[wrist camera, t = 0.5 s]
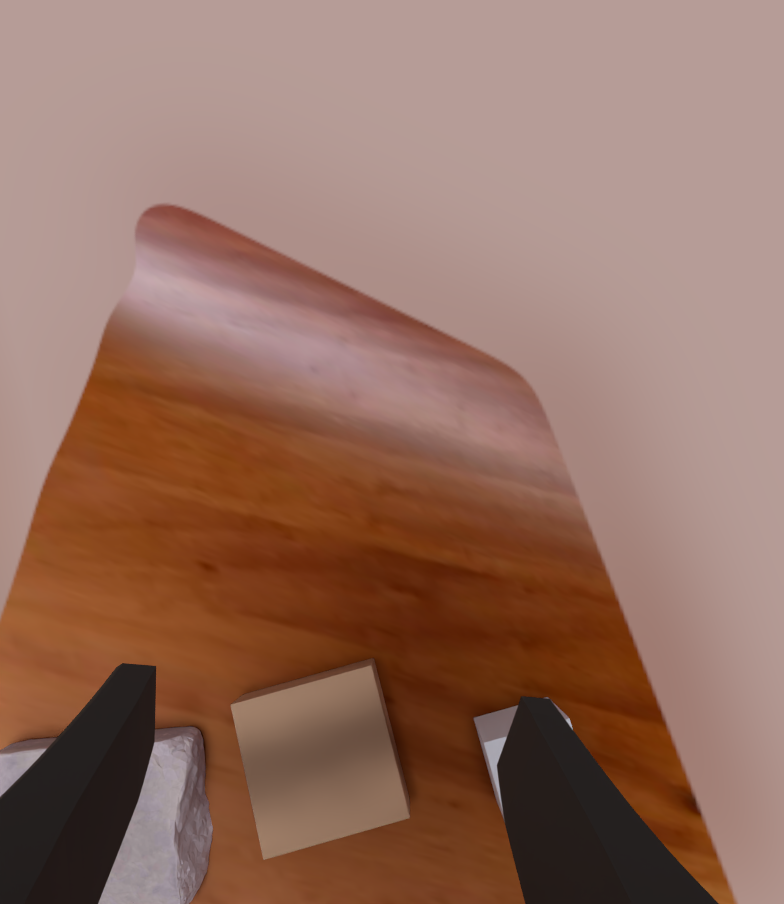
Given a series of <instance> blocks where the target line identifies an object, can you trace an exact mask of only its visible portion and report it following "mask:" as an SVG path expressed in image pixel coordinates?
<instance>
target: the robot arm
mask: <svg viewBox="0 0 784 904" xmlns="http://www.w3.org/2000/svg"><path fill="white" fill-rule="evenodd" d="M155 696H156V666H148V665H136V664H124V663H122V664H121V665H119V666H118V667H116V669H115V670H114V671H113V672H112V674H111V675H110V676H109V678H108V679H107V680H106V681H105V683H104V684H103V685H102V686H101V688H100V689H99V690H98V691H97V693H96V694H95V695H94V696H93V697H92V699H91V700H90V701H89V702H88V703H87V705H86V706H85V707H84V708H83V709H82V710H81V712H80V713H79V714H78V715H77V716H76V717H75V719H74V720H73V721H72V722H71V723H70V724H69V725H68V727H67V728H66V729H65V730H64V731H63V732H62V733H61V734H60V735H59V736H58V737H57V739H56V740H55V741H54V742H53V743H52V744H51V745H50V746H49V747H48V748H47V749H46V750H45V752H44V753H43V754H42V755H41V756H40V757H39V758H38V759H37V760H36V761H35V762H34V763H33V764H32V765H31V766H30V768H29V769H28V770H27V771H26V772H25V773H24V774H23V775H22V776H21V777H20V778H19V779H18V780H17V781H16V782H15V783H14V784H13V785H12V786H11V787H10V788H9V789H8V790H7V791H6V792H5V793H4V794H2V795H1V796H0V904H98V903H99V900H100V898H101V895H102V893H103V890H104V888H105V885H106V882H107V880H108V877H109V875H110V872H111V870H112V867H113V865H114V862H115V859H116V857H117V854H118V852H119V849H120V847H121V844H122V842H123V839H124V836H125V834H126V831H127V829H128V826H129V823H130V821H131V818H132V816H133V813H134V810H135V808H136V805H137V803H138V800H139V797H140V793H141V790H142V786H143V783H144V779H145V776H146V772H147V768H148V765H149V761H150V757H151V754H152V750H153V746H154V743H155ZM497 772H498V780H499V787H500V795H501V802H502V808H503V815H504V821H505V825H506V829H507V833H508V837H509V841H510V845H511V849H512V853H513V857H514V861H515V865H516V869H517V873H518V877H519V880H520V884H521V888H522V892H523V896H524V900H525V904H718V903H717V902H716V901H715V900H714V899H713V897H712V896H711V895H710V894H709V893H708V892H707V891H706V890H705V889H704V888H703V887H702V886H701V885H700V884H699V883H698V882H697V881H696V880H695V879H694V878H693V877H692V876H691V875H690V873H689V872H688V871H687V870H686V869H685V868H684V867H683V866H682V865H681V864H680V863H679V862H678V861H677V859H676V858H675V857H674V856H673V855H672V854H671V853H670V852H669V851H668V849H667V848H666V847H665V846H664V845H663V844H662V842H661V841H660V840H659V839H658V838H657V837H656V835H655V834H654V833H653V832H652V831H651V830H650V828H649V827H648V826H647V825H646V824H645V823H644V821H643V820H642V819H641V818H640V817H639V815H638V814H637V813H636V812H635V811H634V809H633V808H632V807H631V806H630V804H629V803H628V802H627V801H626V799H625V798H624V797H623V795H622V794H621V793H620V792H619V790H618V789H617V788H616V787H615V785H614V784H613V783H612V781H611V780H610V779H609V778H608V776H607V775H606V774H605V772H604V771H603V770H602V768H601V767H600V766H599V765H598V763H597V762H596V761H595V759H594V758H593V756H592V755H591V754H590V752H589V751H588V750H587V748H586V747H585V746H584V744H583V743H582V742H581V740H580V739H579V738H578V736H577V735H576V734H575V732H574V731H573V729H572V728H571V727H570V725H569V724H568V723H567V721H566V720H565V719H564V717H563V716H562V714H561V713H560V712H559V710H558V709H557V708H556V706H555V705H554V704H553V702H552V701H551V700H550V699H546V698H534V697H522V696H521V699H520V702H519V704H518V707H517V710H516V713H515V716H514V718H513V721H512V724H511V727H510V730H509V732H508V735H507V738H506V741H505V744H504V746H503V749H502V752H501V755H500V758H499V760H498V763H497Z"/></svg>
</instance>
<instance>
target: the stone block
mask: <svg viewBox="0 0 784 904" xmlns="http://www.w3.org/2000/svg"><path fill="white" fill-rule="evenodd" d="M56 739H57V738H42V739H30V740H26V741H22V742H17V743H13V744H10V745H9V746H7V747H5V748H4V749H2V750H0V796H1V795H2V794H4V793H5V792H6V791H7V790H8V789H9V788H10V787H11V786H12V785H13V784H14V783H15V782H16V781H17V780H18V779H19V778H20V777H21V776H22V775H23V774H24V773H25V772H26V771H27V770H28V769H29V768H30V766H31V765H32V764H33V763H34V762H35V761H36V760H37V759H38V758H39V757H40V756H41V755H42V754H43V753H44V752H45V750H46V749H47V748H48V747H49V746H50V745H51V744H52V743H53V742H54V741H55V740H56ZM205 769H206V765H205V753H204V746H203V738H202V735H201V732H200V730H199V729H197V728H195V727H191V726H188V727H174V728H165V729H155V743H154V746H153V750H152V754H151V757H150V761H149V765H148V768H147V772H146V776H145V779H144V783H143V786H142V790H141V793H140V797H139V800H138V803H137V805H136V808H135V810H134V813H133V816H132V818H131V821H130V823H129V826H128V829H127V831H126V834H125V836H124V839H123V842H122V844H121V847H120V849H119V852H118V854H117V857H116V859H115V862H114V865H113V867H112V870H111V872H110V875H109V877H108V880H107V882H106V885H105V888H104V890H103V893H102V895H101V898H100V900H99V903H98V904H189V903H190V902H191V901H192V900H193V897H194V896H195V895H196V892H197V890H198V889H199V887H200V885H201V883H202V881H203V879H204V876H205V874H206V873H207V867H208V864H209V852H210V846H211V842H212V832H213V826H212V823H211V817H210V813H209V801H208V799H207V797H206V794H205V775H206V774H205Z"/></svg>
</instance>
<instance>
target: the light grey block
mask: <svg viewBox="0 0 784 904" xmlns="http://www.w3.org/2000/svg"><path fill="white" fill-rule="evenodd" d="M545 698H546V699H549V698H548V697H545ZM553 704H554V703H553ZM554 705H555V704H554ZM555 706H556V705H555ZM517 707H518V705H517V706H514V707H510V708H507V709H503V710H499V711H496V712H492V713H489V714H485V715H482V716H478V717H475V718H474V722H475V725H476V729H477V732H478V736H479V739H480V743H481V747H482V750H483V754H484V757H485V761H486V765H487V768H488V772H489V775H490V779H491V782H492V786H493V790H494V793H495V797H496V800H497V803H498V805H499V808H500V811H501V814H502V816H503V819H504V815H503V808H502V802H501V795H500V787H499V780H498V772H497V763H498V760H499V758H500V755H501V752H502V749H503V746H504V744H505V741H506V738H507V735H508V732H509V730H510V727H511V724H512V721H513V718H514V716H515V713H516V710H517ZM556 708H557V709H558V710H559V712H560V713H561V714H562V716H563V717H564V719H565V720H566V721H567V723H568V724H569V725H570V727H571V728H572V725H571V722H570V718H569V717H568V716H567V715H566V714H565V713H564V712H563V711H561V710H560V709H559V708H558V707H557V706H556ZM572 729H573V728H572ZM504 822H505V821H504Z"/></svg>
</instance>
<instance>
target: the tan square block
mask: <svg viewBox="0 0 784 904" xmlns="http://www.w3.org/2000/svg"><path fill="white" fill-rule="evenodd" d="M231 709H232V714H233V719H234V723H235V728H236V733H237V738H238V742H239V747H240V752H241V757H242V761H243V766H244V771H245V775H246V780H247V785H248V790H249V794H250V799H251V804H252V808H253V813H254V818H255V823H256V827H257V832H258V837H259V841H260V846H261V851H262V856H263V860H265V859H268V858H272V857H275V856H279V855H282V854H286V853H289V852H293V851H296V850H300V849H303V848H307V847H310V846H314V845H317V844H321V843H324V842H328V841H331V840H335V839H338V838H342V837H345V836H349V835H352V834H356V833H359V832H363V831H366V830H370V829H373V828H377V827H380V826H384V825H387V824H391V823H394V822H398V821H401V820H405V819H408V818H410V798H409V794H408V790H407V786H406V782H405V778H404V774H403V771H402V767H401V763H400V759H399V755H398V751H397V747H396V743H395V739H394V735H393V731H392V727H391V723H390V720H389V716H388V712H387V708H386V704H385V700H384V696H383V692H382V688H381V684H380V680H379V676H378V672H377V669H376V665H375V661H374V658H371V659H368V660H364V661H361V662H357V663H354V664H350V665H346V666H343V667H339V668H336V669H332V670H328V671H325V672H321V673H318V674H314V675H311V676H307V677H303V678H300V679H296V680H293V681H289V682H286V683H282V684H278V685H275V686H271V687H268V688H264V689H260V690H257V691H253V692H250V693H246V694H243V695H242V696H241V697H239V698H238V699H237V700H236V701H234V702H233V703H232V704H231Z"/></svg>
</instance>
